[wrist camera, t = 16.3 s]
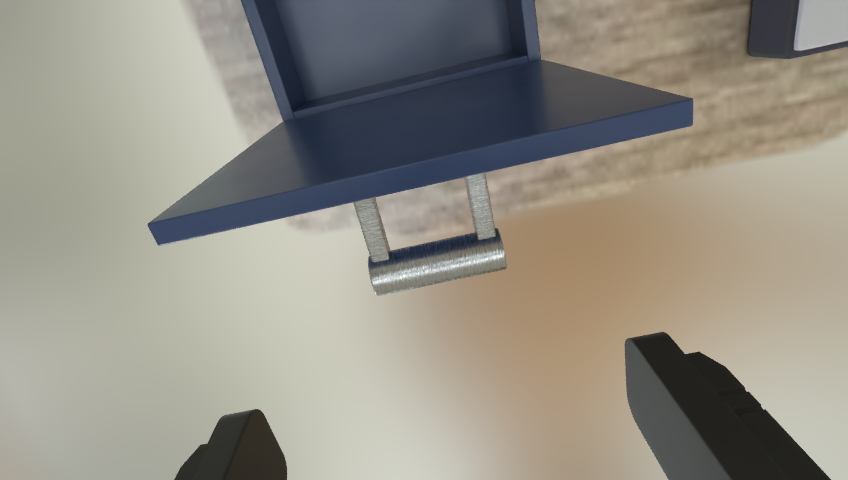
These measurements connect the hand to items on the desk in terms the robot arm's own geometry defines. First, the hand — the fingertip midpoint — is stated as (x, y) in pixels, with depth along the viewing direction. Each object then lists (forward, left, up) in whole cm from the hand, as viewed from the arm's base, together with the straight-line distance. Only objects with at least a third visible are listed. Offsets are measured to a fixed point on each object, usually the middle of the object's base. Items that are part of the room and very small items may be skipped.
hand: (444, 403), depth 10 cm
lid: (-3, -3, -14) cm, 14 cm away
